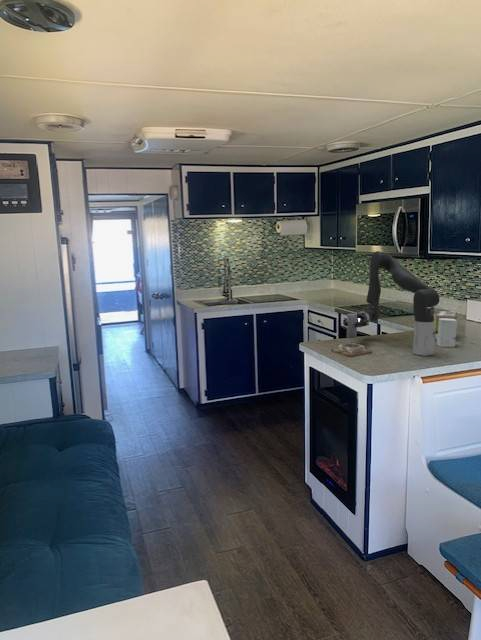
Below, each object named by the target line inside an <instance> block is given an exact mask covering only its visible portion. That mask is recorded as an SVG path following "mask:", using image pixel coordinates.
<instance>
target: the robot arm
mask: <svg viewBox="0 0 481 640" xmlns="http://www.w3.org/2000/svg"><path fill="white" fill-rule="evenodd" d="M369 263H370V265H369V284H368V290H367V294H366V303H367V304H369V305H372V306H373V308H372V307H368V306H367V307H363V308H361V311H359V312H357V313H356V314H357V322H356V323H355V327H357V328H363V327H366V326H369V324H370V321H372V322H376V321H378V320H379V319H380V299H381V293H382V292H381V291H382V288H381V283H380V278H379V271H380V269H381V270H385V271H386V272H388V273H389V274H390V275H391V278H392V281H393V282H394V283H395V284H396V285H397V286H398V287H400V288H401V289H403V290H404V291H407V292H411V293H413V299H412V300H413V301H412V302H413V307H412V308H413V317H414V320H413V321H414V322H413V323H414V324H413V325H414V327H413V342H412V343H413V347H412V353H413V354H414V355H417V356H422V357H423V356H424V357H428V356H432V355H433V356H434V354H435V340H436V339H435V336H434V330H435V329H434V328H435V315H434V316H433V315H431V314H429V313H427V307H436V306H437V305H439V303H440V301H441V298H440V295H439V293H438V291H436V290H435V289H434V288H432V287H431V286H429V285H427V284H426V283H424V282H423V281H421V280H420V279H419V278H418V277H417V276H415V275H414V274H413V273H412V272H411V271H409V270H408V269H407V268H406V267H404V266H403V265H402V264H400V263H399V262H398V261H397V260H396V258H394V257H393V256H392V255H391V254H390V253H387V252H383V251H378V250H377V251H375V252H373V253H372V255H371V258H370V262H369ZM342 325H343V326H344V327H347V317H344V318H343V320H342Z"/></svg>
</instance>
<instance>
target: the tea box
mask: <svg viewBox="0 0 481 640" xmlns="http://www.w3.org/2000/svg"><path fill="white" fill-rule="evenodd" d="M439 318H446V319H455V320H457V321H458V311H450V310H449V311H448V310H447V311H446V310H445V311H443V310H439V312H438V313H437V314H436V316H435V340H436V341H437V337H438V325H439ZM457 329H458V328H457ZM457 329H456V336H457V333H458V331H457Z"/></svg>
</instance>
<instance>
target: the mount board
mask: <svg viewBox="0 0 481 640" xmlns="http://www.w3.org/2000/svg"><path fill="white" fill-rule="evenodd" d="M330 351H331V352H333V353H337V354H339V355H342V356H345V357H348V358H351V357H353V358H354V357H358V356H363V355H369V354H373V350H369V349H366V346H364V345H362V344H359V343H355V342H348V343H343V344H338V347H337V348H336V347H335V348H330Z"/></svg>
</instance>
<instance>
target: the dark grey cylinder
mask: <svg viewBox="0 0 481 640" xmlns="http://www.w3.org/2000/svg"><path fill="white" fill-rule="evenodd" d="M346 316H347V317H346V319H347V326H346V338H347V339H355V338H356V339H357V333H358V330H357V329H358V327H355V323H356V322H357V313H347V314H346Z"/></svg>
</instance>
